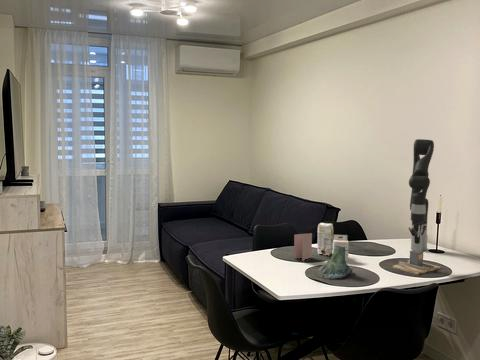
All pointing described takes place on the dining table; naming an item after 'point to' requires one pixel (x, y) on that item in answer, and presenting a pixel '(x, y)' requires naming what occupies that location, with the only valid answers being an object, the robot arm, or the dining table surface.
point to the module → (416, 258)
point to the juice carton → (325, 239)
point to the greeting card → (303, 246)
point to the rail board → (415, 267)
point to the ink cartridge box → (342, 243)
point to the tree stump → (336, 264)
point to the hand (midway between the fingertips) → (417, 243)
